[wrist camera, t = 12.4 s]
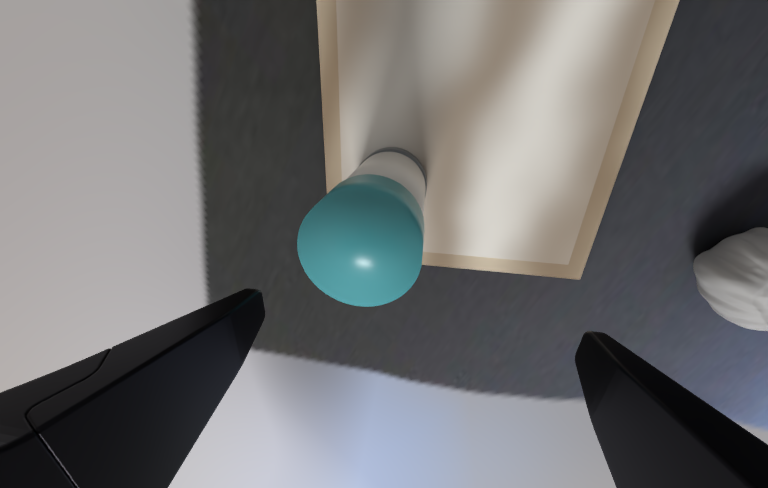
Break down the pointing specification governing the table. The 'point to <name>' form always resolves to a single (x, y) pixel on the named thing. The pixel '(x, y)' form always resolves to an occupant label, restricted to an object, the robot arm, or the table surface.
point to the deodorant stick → (368, 231)
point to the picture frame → (493, 115)
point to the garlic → (737, 278)
